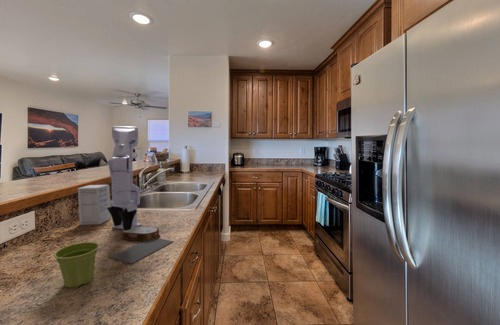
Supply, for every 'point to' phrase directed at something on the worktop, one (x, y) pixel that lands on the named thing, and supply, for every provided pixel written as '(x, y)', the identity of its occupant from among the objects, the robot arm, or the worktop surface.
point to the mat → (140, 250)
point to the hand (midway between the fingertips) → (122, 227)
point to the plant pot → (77, 263)
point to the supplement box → (94, 204)
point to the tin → (140, 233)
